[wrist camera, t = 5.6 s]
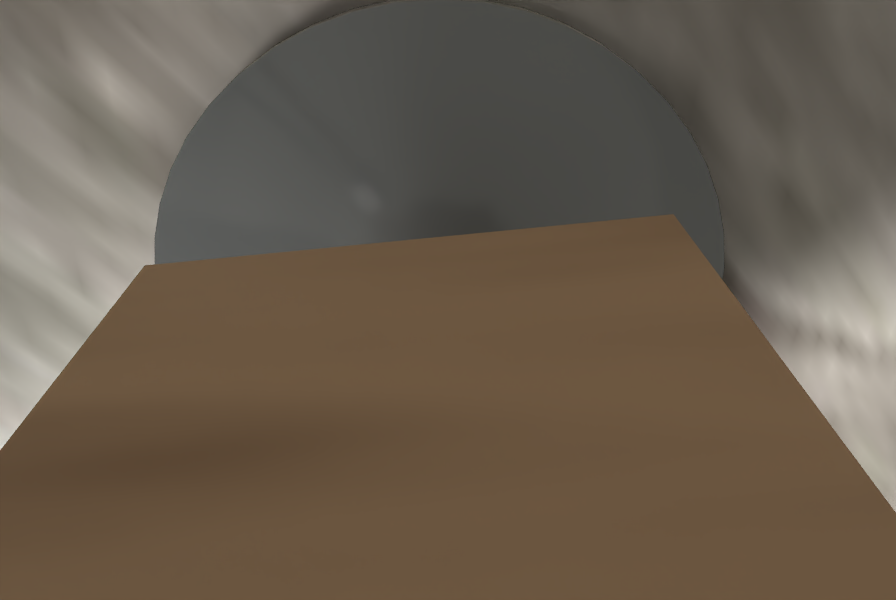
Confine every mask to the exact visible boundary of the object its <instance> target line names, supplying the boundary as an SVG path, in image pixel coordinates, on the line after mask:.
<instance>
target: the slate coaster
mask: <svg viewBox="0 0 896 600" xmlns="http://www.w3.org/2000/svg"><path fill="white" fill-rule="evenodd" d="M670 214H674V216H675V217H676V218H677V220H678V221H679V222H680V224H681V225H682V226H683V228H684V229H685V230H686V232H687V233H688V234H689V236H690V237H691V238H692V240H693V241H694V242H695V244H696V245H697V246H698V248H699V249H700V250H701V252H702V253H703V255H704V256H705V257H706V259H707V260H708V261H709V263H710V264H711V265H712V267H713V268H714V269H715V271H716V272H717V273H718V275H719V276H720V277H721V279H722V280H723V273H724V231H723V225H722V219H721V213H720V207H719V201H718V197H717V194H716V191H715V188H714V185H713V182H712V179H711V176H710V173H709V170H708V167H707V165H706V163H705V161H704V159H703V157H702V155H701V153H700V151H699V149H698V147H697V145H696V143H695V141H694V139H693V137H692V135H691V133H690V132H689V131H688V129H687V128H686V126H685V125H684V124H683V122H682V121H681V119H680V118H679V117H678V115H677V114H676V113H675V111H674V110H673V108H672V107H671V106H670V104H669V103H668V102H667V101H666V100H665V99H664V98H663V97H662V96H661V95H660V94H659V93H658V92H657V91H656V90H655V89H654V88H653V86H652V85H651V84H650V83H649V82H648V81H647V80H646V79H645V78H644V77H643V76H642V75H641V74H640V73H639V72H637V71H636V70H635V69H634V68H633V67H632V66H631V65H629V64H628V63H627V62H625V61H624V60H623V59H621V58H620V57H619V56H617V55H616V54H615V53H613V52H612V51H611V50H609V49H608V48H607V47H605V46H604V45H603V44H601V43H600V42H598V41H597V40H595V39H593V38H591V37H589V36H587V35H586V34H584V33H582V32H580V31H578V30H576V29H574V28H573V27H571V26H569V25H567V24H565V23H563V22H561V21H558V20H555V19H553V18H550V17H547V16H544V15H542V14H539V13H536V12H534V11H531V10H528V9H525V8H522V7H517V6H513V5H508V4H503V3H498V2H494V1H489V0H390V1H385V2H381V3H376V4H372V5H367V6H363V7H358V8H354V9H351V10H348V11H346V12H343V13H340V14H338V15H335V16H332V17H330V18H327V19H324V20H322V21H319V22H316V23H314V24H312V25H310V26H308V27H307V28H305V29H303V30H301V31H299V32H298V33H296V34H294V35H292V36H290V37H289V38H287V39H285V40H283V41H281V42H279V43H278V44H276V45H275V46H274V47H273V48H271V49H270V50H269V51H267V52H266V53H265V54H263V55H262V56H261V57H259V58H258V59H257V60H256V61H254V62H253V63H252V64H250V65H249V66H248V67H246V68H245V69H244V70H243V71H242V72H241V73H240V74H239V75H238V76H237V77H236V78H235V79H234V80H233V81H232V82H231V83H230V84H229V85H228V86H227V87H226V88H225V89H224V90H223V91H222V92H221V93H220V94H219V95H218V96H217V97H216V98H215V99H214V100H213V101H212V102H211V104H210V105H209V106H208V107H207V109H206V110H205V112H204V113H203V114H202V116H201V117H200V119H199V120H198V121H197V123H196V124H195V126H194V127H193V129H192V130H191V131H190V133H189V134H188V136H187V137H186V139H185V141H184V143H183V145H182V147H181V149H180V152H179V154H178V156H177V158H176V160H175V162H174V164H173V166H172V168H171V170H170V173H169V176H168V179H167V183H166V186H165V189H164V192H163V195H162V199H161V202H160V206H159V213H158V220H157V226H156V233H155V264H165V263H176V262H186V261H196V260H207V259H217V258H227V257H238V256H248V255H258V254H268V253H279V252H289V251H299V250H310V249H320V248H330V247H341V246H351V245H361V244H371V243H382V242H392V241H402V240H413V239H423V238H433V237H444V236H454V235H464V234H474V233H485V232H495V231H505V230H516V229H526V228H536V227H547V226H557V225H567V224H577V223H588V222H598V221H608V220H619V219H629V218H639V217H650V216H660V215H670Z"/></svg>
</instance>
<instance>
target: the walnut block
mask: <svg viewBox="0 0 896 600" xmlns="http://www.w3.org/2000/svg"><path fill="white" fill-rule="evenodd" d="M0 600H896V512H895V511H894V510H893V508H892V507H891V506H890V504H889V503H888V502H887V500H886V499H885V498H884V496H883V495H882V494H881V492H880V491H879V490H878V488H877V487H876V486H875V484H874V483H873V482H872V480H871V479H870V478H869V476H868V475H867V474H866V472H865V471H864V470H863V468H862V467H861V465H860V464H859V463H858V461H857V460H856V459H855V457H854V456H853V455H852V453H851V452H850V451H849V449H848V448H847V447H846V445H845V444H844V443H843V441H842V440H841V439H840V437H839V436H838V435H837V433H836V432H835V431H834V429H833V428H832V427H831V425H830V424H829V422H828V421H827V420H826V418H825V417H824V416H823V414H822V413H821V412H820V410H819V409H818V408H817V406H816V405H815V404H814V402H813V401H812V400H811V398H810V397H809V396H808V394H807V393H806V392H805V390H804V389H803V388H802V386H801V385H800V384H799V382H798V381H797V379H796V378H795V377H794V375H793V374H792V373H791V371H790V370H789V369H788V367H787V366H786V365H785V363H784V362H783V361H782V359H781V358H780V357H779V355H778V354H777V353H776V351H775V350H774V349H773V347H772V346H771V345H770V343H769V342H768V341H767V339H766V338H765V336H764V335H763V334H762V332H761V331H760V330H759V328H758V327H757V326H756V324H755V323H754V322H753V320H752V319H751V318H750V316H749V315H748V314H747V312H746V311H745V310H744V308H743V307H742V306H741V304H740V303H739V302H738V300H737V299H736V298H735V296H734V295H733V293H732V292H731V291H730V289H729V288H728V287H727V285H726V284H725V283H724V281H723V280H722V279H721V277H720V276H719V275H718V273H717V272H716V271H715V269H714V268H713V267H712V265H711V264H710V263H709V261H708V260H707V259H706V257H705V256H704V255H703V253H702V252H701V250H700V249H699V248H698V246H697V245H696V244H695V242H694V241H693V240H692V238H691V237H690V236H689V234H688V233H687V232H686V230H685V229H684V228H683V226H682V225H681V224H680V222H679V221H678V220H677V218H676V217H675V216H674V214H670V215H660V216H650V217H639V218H629V219H619V220H608V221H598V222H588V223H577V224H567V225H557V226H547V227H536V228H526V229H516V230H505V231H495V232H485V233H474V234H464V235H454V236H444V237H433V238H423V239H413V240H402V241H392V242H382V243H371V244H361V245H351V246H341V247H330V248H320V249H310V250H299V251H289V252H279V253H268V254H258V255H248V256H238V257H227V258H217V259H207V260H196V261H186V262H176V263H165V264H155V265H145V266H144V267H143V268H142V270H141V271H140V272H139V274H138V275H137V276H136V277H135V279H134V280H133V281H132V283H131V284H130V285H129V286H128V288H127V289H126V290H125V292H124V293H123V294H122V295H121V297H120V298H119V299H118V300H117V302H116V303H115V304H114V306H113V307H112V308H111V309H110V311H109V312H108V313H107V315H106V316H105V317H104V318H103V320H102V321H101V322H100V324H99V325H98V326H97V327H96V329H95V330H94V331H93V332H92V334H91V335H90V336H89V338H88V339H87V340H86V341H85V343H84V344H83V345H82V347H81V348H80V349H79V350H78V352H77V353H76V354H75V356H74V357H73V358H72V359H71V361H70V362H69V363H68V364H67V366H66V367H65V368H64V370H63V371H62V372H61V373H60V375H59V376H58V377H57V379H56V380H55V381H54V382H53V384H52V385H51V386H50V388H49V389H48V390H47V391H46V393H45V394H44V395H43V397H42V398H41V399H40V400H39V402H38V403H37V404H36V405H35V407H34V408H33V409H32V411H31V412H30V413H29V414H28V416H27V417H26V418H25V420H24V421H23V422H22V423H21V425H20V426H19V427H18V429H17V430H16V431H15V432H14V434H13V435H12V436H11V437H10V439H9V440H8V441H7V443H6V444H5V445H4V446H3V448H2V449H1V450H0Z"/></svg>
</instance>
